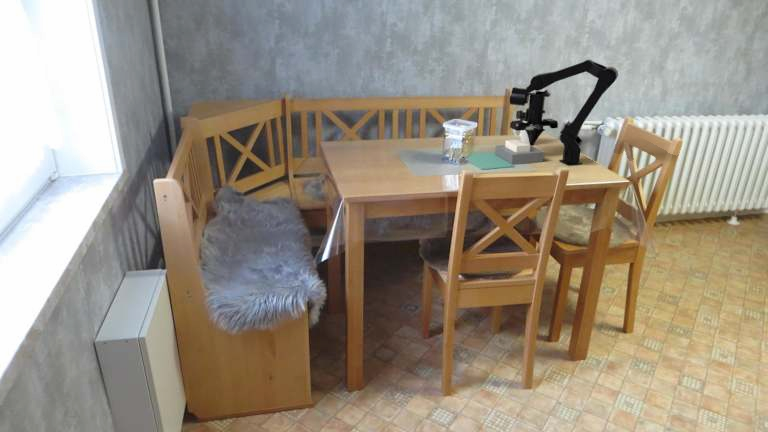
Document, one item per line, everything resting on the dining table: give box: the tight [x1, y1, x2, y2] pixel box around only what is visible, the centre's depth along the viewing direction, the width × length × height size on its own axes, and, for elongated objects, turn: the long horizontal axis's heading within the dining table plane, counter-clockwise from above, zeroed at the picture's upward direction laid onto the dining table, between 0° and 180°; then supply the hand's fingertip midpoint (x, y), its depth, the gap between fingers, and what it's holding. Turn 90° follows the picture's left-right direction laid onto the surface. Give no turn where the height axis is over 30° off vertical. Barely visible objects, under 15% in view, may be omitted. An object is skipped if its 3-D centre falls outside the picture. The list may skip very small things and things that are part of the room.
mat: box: [464, 152, 515, 171], centre depth 218 cm, size 20×14×1 cm
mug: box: [513, 121, 533, 146], centre depth 240 cm, size 10×7×12 cm, turn 102°
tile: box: [504, 139, 530, 153], centre depth 220 cm, size 9×6×3 cm, turn 17°
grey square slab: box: [494, 144, 545, 166], centre depth 221 cm, size 14×14×4 cm
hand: (531, 145), depth 222 cm, fingers closed
